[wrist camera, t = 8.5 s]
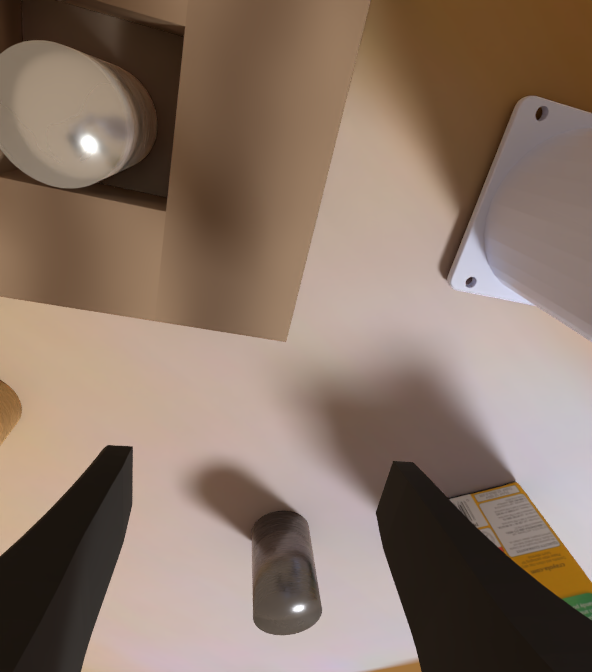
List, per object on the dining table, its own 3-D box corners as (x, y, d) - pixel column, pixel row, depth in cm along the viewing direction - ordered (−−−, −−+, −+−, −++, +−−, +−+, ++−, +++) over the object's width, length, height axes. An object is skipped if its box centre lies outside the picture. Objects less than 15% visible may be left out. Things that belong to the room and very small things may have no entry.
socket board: (371, -65, 14) (395, -97, 12) (281, 317, 20) (286, 341, 18) (-206, -272, 11) (-316, -366, 9) (-117, 249, 17) (-171, 269, 15)
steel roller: (166, 84, 16) (136, 72, 11) (147, 181, 17) (113, 205, 13) (62, 45, 15) (-14, 15, 10) (51, 150, 16) (-21, 164, 12)
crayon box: (406, 539, 28) (500, 782, 18) (401, 508, 27) (500, 751, 17) (516, 513, 28) (673, 741, 18) (517, 480, 27) (688, 706, 17)
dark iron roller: (314, 513, 26) (329, 594, 22) (301, 552, 28) (312, 635, 23) (257, 508, 26) (260, 590, 21) (246, 549, 27) (247, 634, 23)
